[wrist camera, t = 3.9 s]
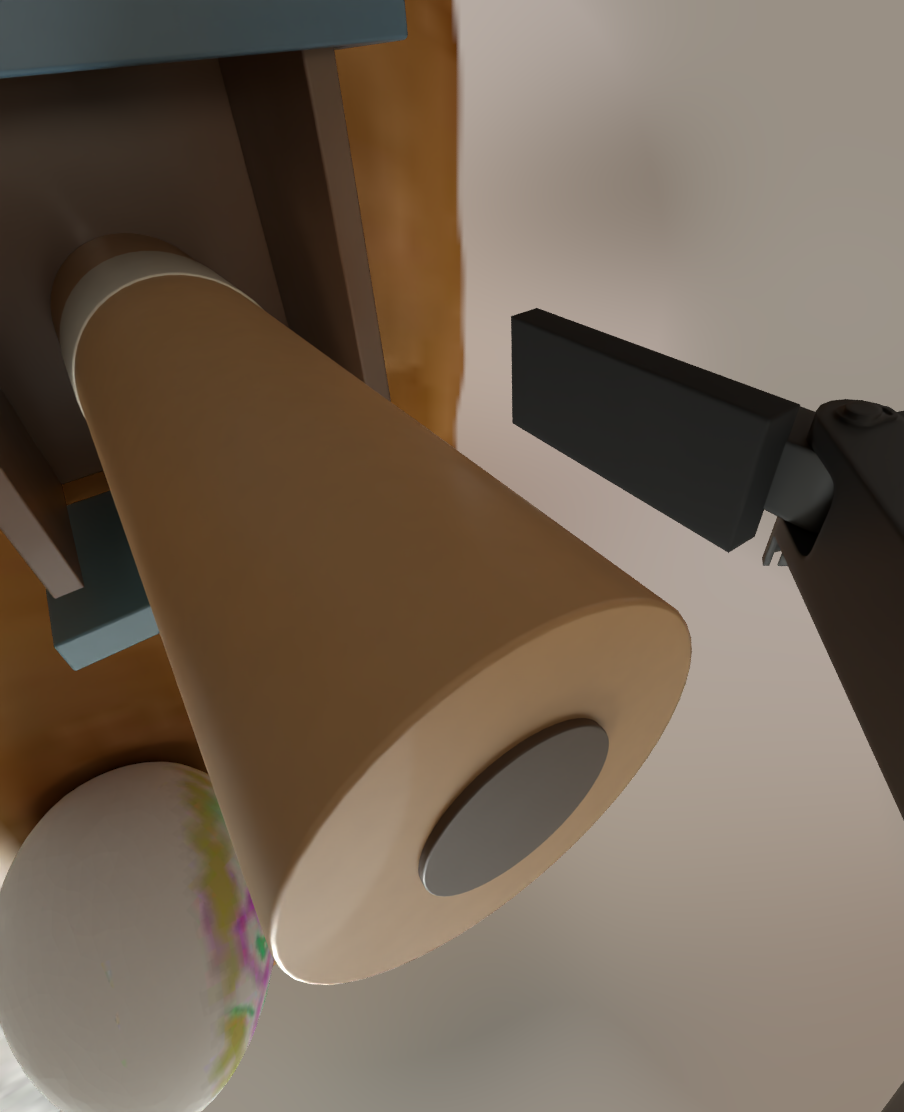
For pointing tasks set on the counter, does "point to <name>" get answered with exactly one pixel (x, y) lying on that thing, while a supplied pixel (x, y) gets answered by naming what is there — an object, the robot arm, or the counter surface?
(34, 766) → the counter surface
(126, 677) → the counter surface
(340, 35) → the cabinet
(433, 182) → the counter surface
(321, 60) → the drawer
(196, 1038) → the decorative egg
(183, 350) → the paper roll
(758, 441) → the robot arm
